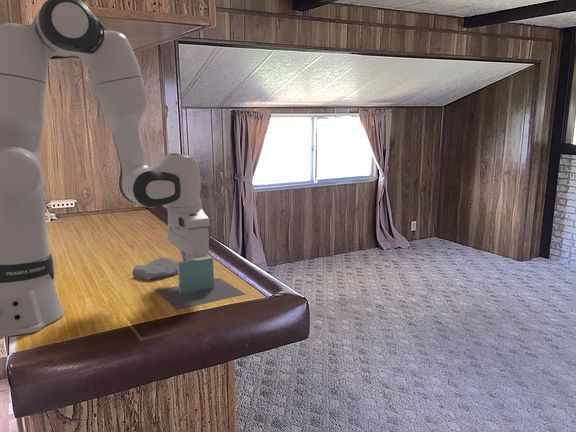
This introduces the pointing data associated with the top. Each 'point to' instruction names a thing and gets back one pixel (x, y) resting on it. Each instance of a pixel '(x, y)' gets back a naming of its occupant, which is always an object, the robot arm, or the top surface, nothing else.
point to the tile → (195, 275)
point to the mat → (199, 295)
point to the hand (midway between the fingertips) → (188, 266)
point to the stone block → (156, 269)
